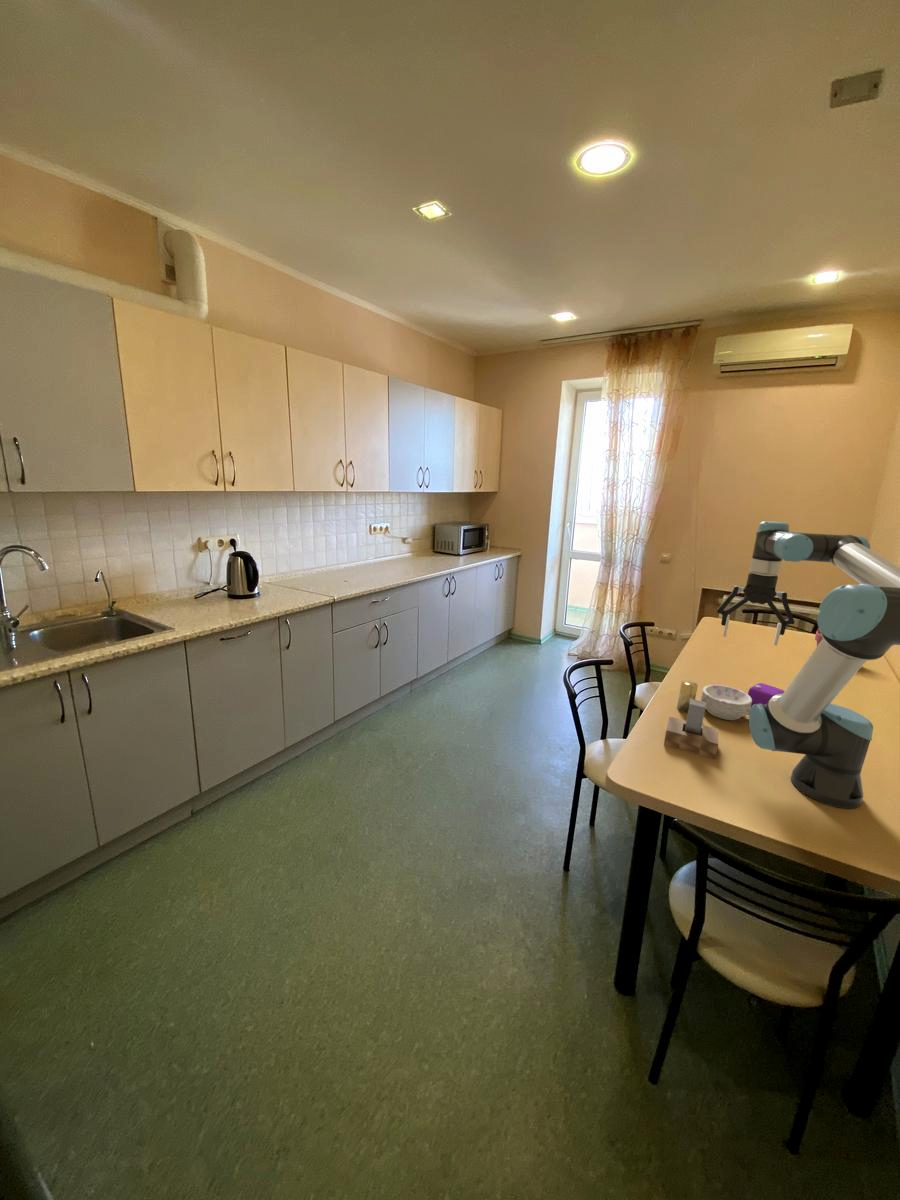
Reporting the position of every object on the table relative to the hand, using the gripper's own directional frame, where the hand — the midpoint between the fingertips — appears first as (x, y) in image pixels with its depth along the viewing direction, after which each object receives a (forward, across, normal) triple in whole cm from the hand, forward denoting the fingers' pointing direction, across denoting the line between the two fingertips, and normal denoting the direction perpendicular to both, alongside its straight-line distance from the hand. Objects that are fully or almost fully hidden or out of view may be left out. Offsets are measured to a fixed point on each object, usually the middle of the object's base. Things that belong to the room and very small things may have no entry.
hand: (749, 639), depth 147 cm
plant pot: (+32, -42, -104) cm, 117 cm away
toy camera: (+32, -11, -23) cm, 41 cm away
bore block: (+32, +11, +17) cm, 38 cm away
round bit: (+32, +14, -8) cm, 36 cm away
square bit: (+32, +11, +17) cm, 38 cm away
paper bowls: (+32, +2, -12) cm, 34 cm away
